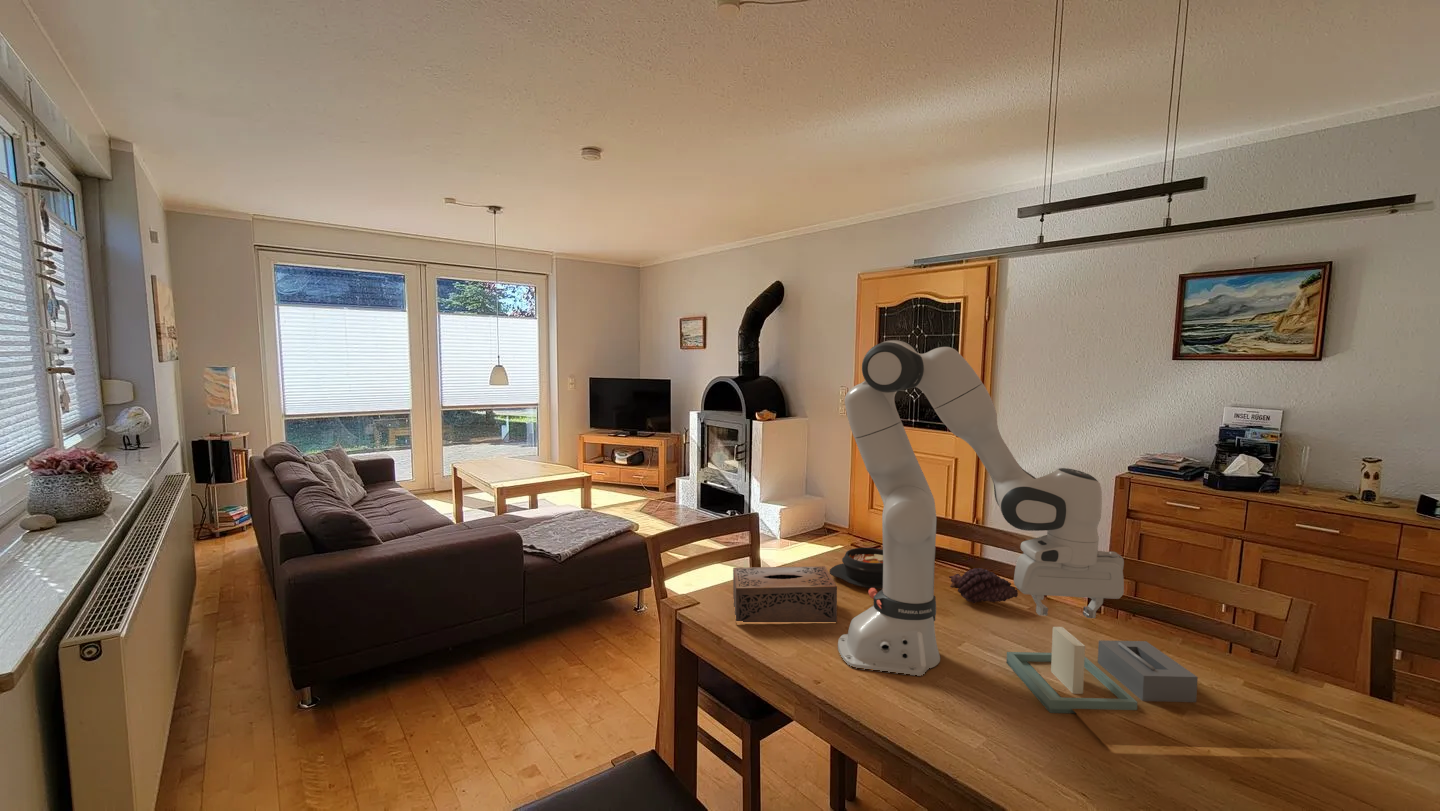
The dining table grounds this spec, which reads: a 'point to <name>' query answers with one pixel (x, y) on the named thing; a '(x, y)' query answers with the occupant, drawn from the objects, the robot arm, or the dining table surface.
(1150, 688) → the holder
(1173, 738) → the dining table surface
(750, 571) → the tissue box cover
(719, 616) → the dining table surface
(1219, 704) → the dining table surface
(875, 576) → the casserole
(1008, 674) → the dining table surface
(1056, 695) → the teal flat frame
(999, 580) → the pine cone
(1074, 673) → the cream flat slab
